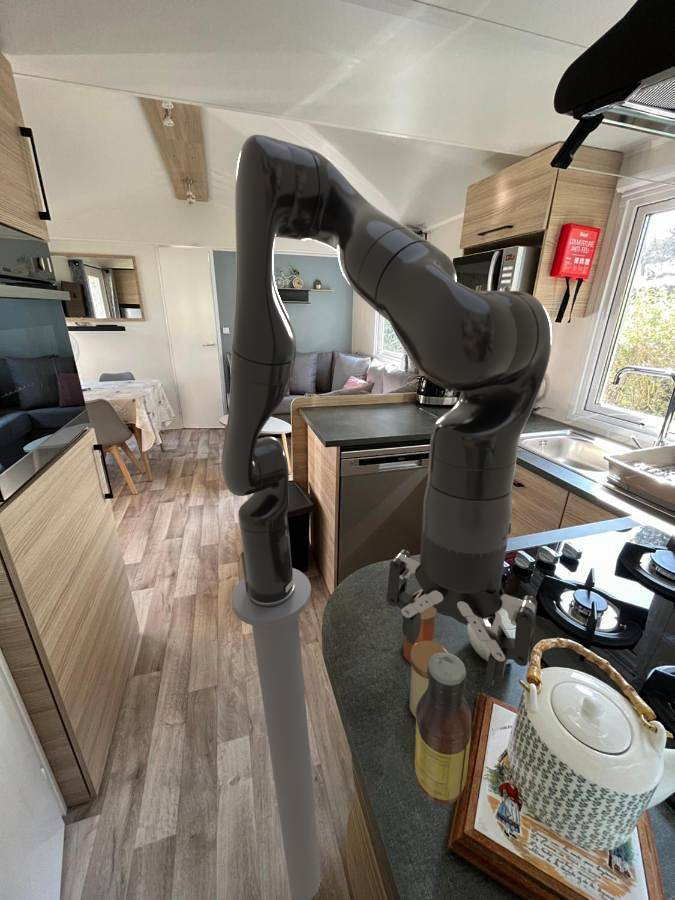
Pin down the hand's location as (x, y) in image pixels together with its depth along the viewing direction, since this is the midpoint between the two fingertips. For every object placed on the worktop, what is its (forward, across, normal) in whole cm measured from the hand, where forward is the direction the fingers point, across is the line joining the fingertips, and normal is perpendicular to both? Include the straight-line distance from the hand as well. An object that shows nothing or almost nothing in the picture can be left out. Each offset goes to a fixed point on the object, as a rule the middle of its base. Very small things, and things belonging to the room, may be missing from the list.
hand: (450, 656), depth 41 cm
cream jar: (+21, -5, +8) cm, 23 cm away
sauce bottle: (+21, 0, 0) cm, 21 cm away
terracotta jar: (+21, -10, +16) cm, 28 cm away
